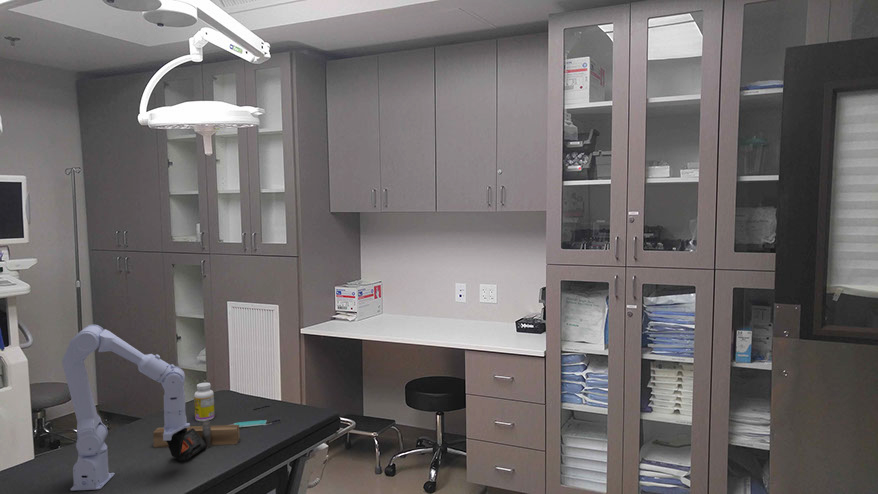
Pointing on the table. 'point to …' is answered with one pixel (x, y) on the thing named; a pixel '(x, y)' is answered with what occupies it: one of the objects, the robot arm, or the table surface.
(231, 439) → the bar
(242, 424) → the surgical mask
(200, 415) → the supplement bottle
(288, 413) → the table surface
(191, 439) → the battery
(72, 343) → the robot arm
